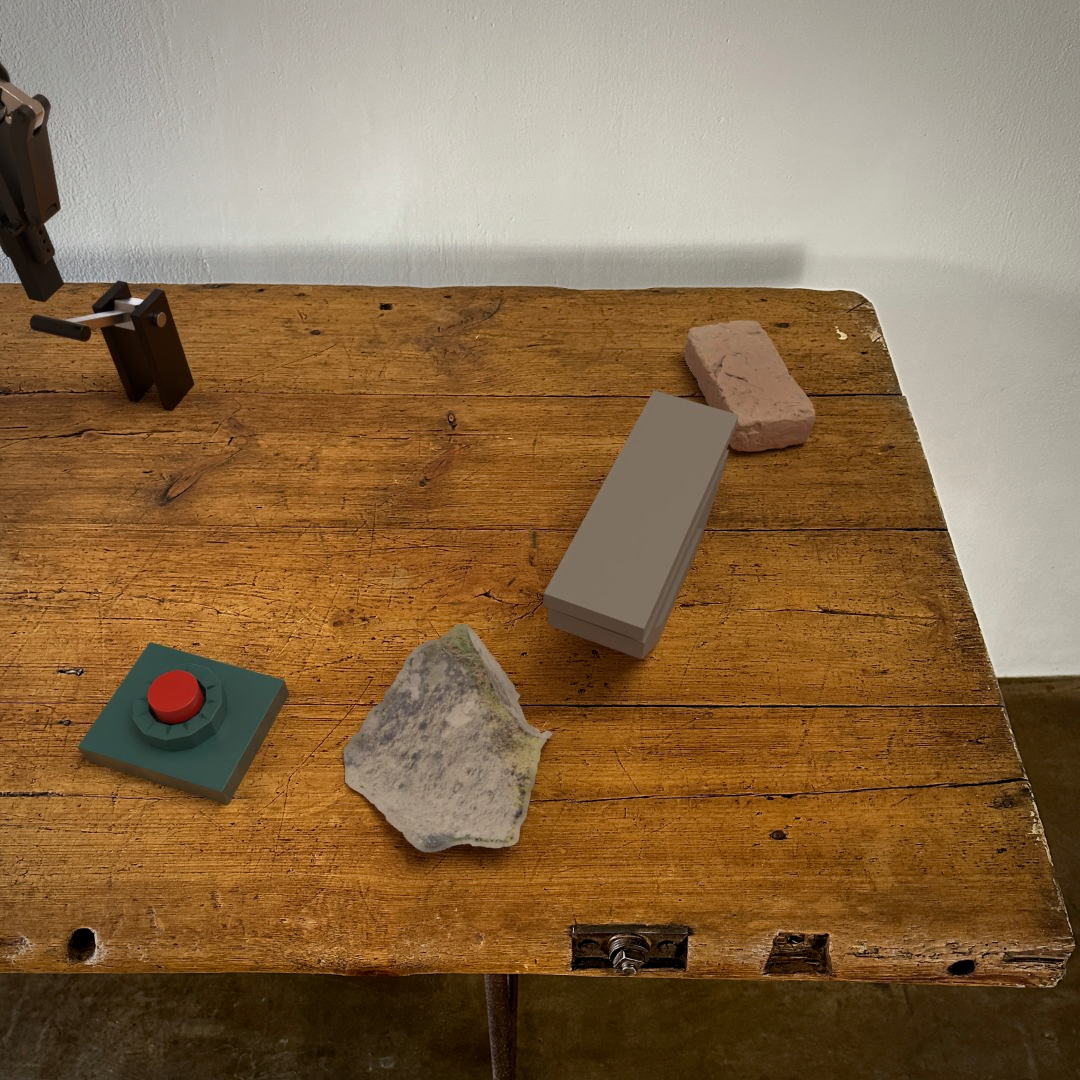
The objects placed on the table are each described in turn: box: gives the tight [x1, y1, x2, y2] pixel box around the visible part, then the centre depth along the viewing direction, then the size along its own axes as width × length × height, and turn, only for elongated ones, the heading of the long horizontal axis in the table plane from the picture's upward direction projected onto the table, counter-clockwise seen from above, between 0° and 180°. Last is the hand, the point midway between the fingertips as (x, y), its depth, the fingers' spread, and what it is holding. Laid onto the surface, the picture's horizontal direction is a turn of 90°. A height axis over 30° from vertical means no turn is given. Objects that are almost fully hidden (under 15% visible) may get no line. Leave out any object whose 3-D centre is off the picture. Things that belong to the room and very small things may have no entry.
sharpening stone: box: [542, 390, 739, 660], centre depth 82 cm, size 25×8×11 cm, turn 157°
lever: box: [29, 297, 144, 343], centre depth 88 cm, size 12×5×2 cm, turn 163°
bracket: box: [91, 279, 195, 412], centre depth 96 cm, size 12×9×13 cm
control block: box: [77, 641, 290, 806], centre depth 74 cm, size 12×10×4 cm
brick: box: [683, 319, 816, 452], centre depth 101 cm, size 17×8×5 cm, turn 13°
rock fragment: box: [343, 623, 553, 853], centre depth 72 cm, size 15×16×5 cm
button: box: [148, 671, 203, 724], centre depth 73 cm, size 4×4×2 cm
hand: (46, 291), depth 80 cm, fingers closed
